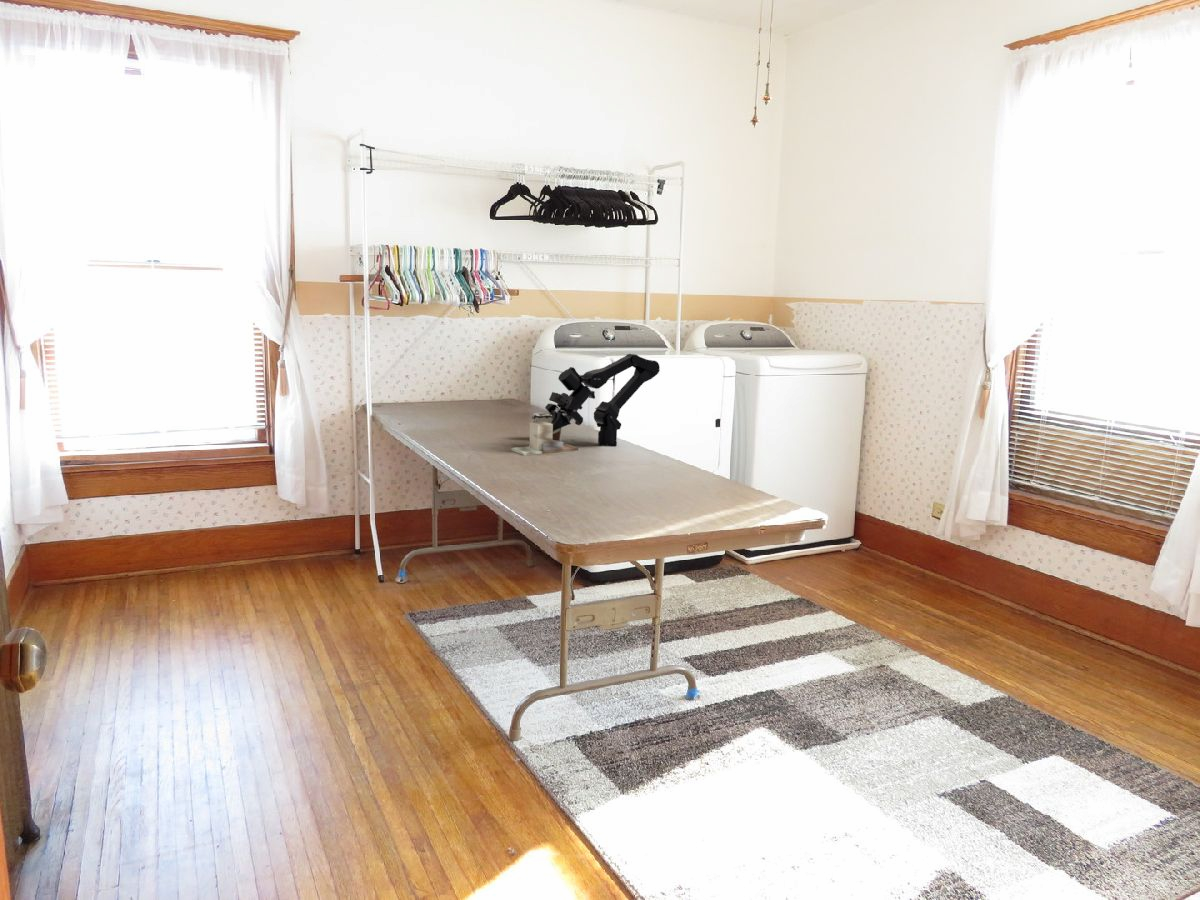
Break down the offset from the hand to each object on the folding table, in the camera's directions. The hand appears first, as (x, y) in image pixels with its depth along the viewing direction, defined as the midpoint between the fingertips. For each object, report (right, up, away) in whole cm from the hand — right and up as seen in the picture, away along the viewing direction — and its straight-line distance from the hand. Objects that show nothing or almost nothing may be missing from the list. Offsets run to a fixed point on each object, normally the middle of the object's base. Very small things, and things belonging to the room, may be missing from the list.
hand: (549, 431), depth 310 cm
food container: (-1, -3, +23) cm, 23 cm away
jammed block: (-3, -6, -1) cm, 7 cm away
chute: (-2, -7, 0) cm, 7 cm away
